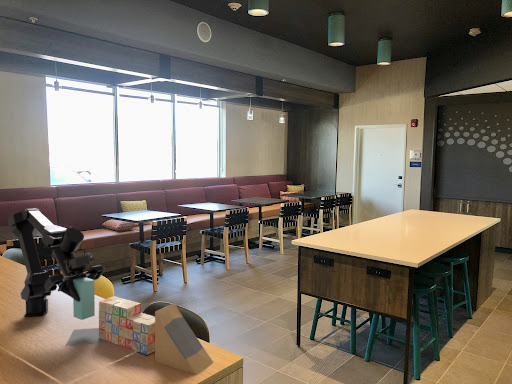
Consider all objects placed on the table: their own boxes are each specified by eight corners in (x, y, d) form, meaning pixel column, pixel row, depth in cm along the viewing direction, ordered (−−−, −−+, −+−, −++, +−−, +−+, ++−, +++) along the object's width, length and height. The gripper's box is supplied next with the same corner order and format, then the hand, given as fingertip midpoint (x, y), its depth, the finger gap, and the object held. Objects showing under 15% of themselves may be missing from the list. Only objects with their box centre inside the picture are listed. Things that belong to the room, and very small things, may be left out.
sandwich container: (197, 376, 107) (197, 322, 106) (154, 361, 115) (154, 311, 113) (215, 362, 115) (215, 312, 114) (173, 349, 122) (174, 302, 121)
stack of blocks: (161, 348, 123) (163, 309, 122) (147, 356, 117) (148, 315, 116) (113, 331, 133) (114, 295, 132) (97, 337, 127) (98, 300, 127)
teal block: (73, 316, 129) (73, 280, 128) (86, 312, 133) (86, 277, 132) (81, 320, 127) (81, 283, 126) (94, 315, 131) (94, 280, 130)
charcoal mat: (65, 347, 122) (65, 345, 122) (73, 331, 133) (73, 329, 133) (106, 344, 124) (106, 342, 124) (111, 328, 136) (111, 327, 136)
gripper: (48, 250, 123) (68, 292, 117) (101, 241, 138) (121, 278, 133) (35, 271, 128) (54, 312, 122) (88, 260, 143) (107, 296, 138)
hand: (86, 299), depth 129 cm, fingers closed on teal block, 5 cm apart
